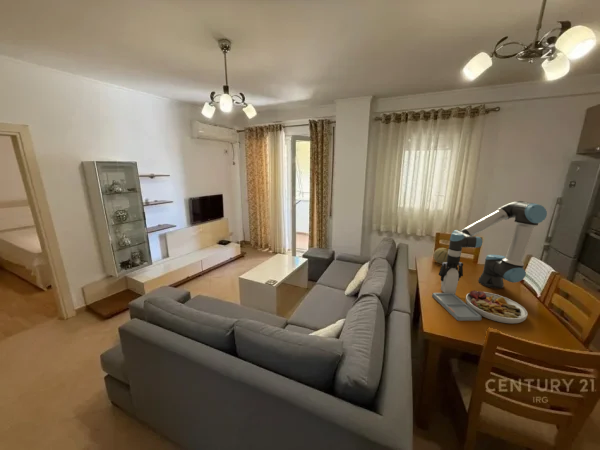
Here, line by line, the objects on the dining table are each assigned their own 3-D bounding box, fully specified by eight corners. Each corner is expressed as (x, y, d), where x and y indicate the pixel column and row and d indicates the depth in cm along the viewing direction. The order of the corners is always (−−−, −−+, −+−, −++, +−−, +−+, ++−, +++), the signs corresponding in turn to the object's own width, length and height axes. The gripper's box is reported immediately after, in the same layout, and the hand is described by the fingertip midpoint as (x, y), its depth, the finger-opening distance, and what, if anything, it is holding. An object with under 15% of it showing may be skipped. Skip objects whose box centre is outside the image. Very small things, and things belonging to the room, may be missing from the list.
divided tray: (451, 295, 168) (452, 292, 167) (481, 320, 142) (481, 316, 141) (432, 296, 167) (432, 292, 167) (457, 320, 141) (458, 316, 141)
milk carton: (455, 294, 169) (459, 269, 164) (444, 293, 170) (448, 268, 166) (451, 289, 176) (455, 265, 171) (440, 288, 177) (444, 264, 173)
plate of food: (534, 316, 146) (537, 304, 144) (512, 333, 131) (515, 320, 130) (478, 293, 171) (480, 283, 169) (455, 305, 157) (457, 294, 155)
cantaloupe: (433, 258, 233) (435, 244, 229) (451, 262, 225) (453, 247, 221) (431, 264, 221) (433, 248, 218) (450, 267, 213) (452, 251, 210)
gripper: (465, 253, 170) (460, 282, 176) (435, 253, 170) (431, 282, 175) (473, 257, 163) (467, 287, 168) (441, 257, 162) (437, 287, 168)
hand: (448, 284), depth 172 cm, fingers open, 9 cm apart
